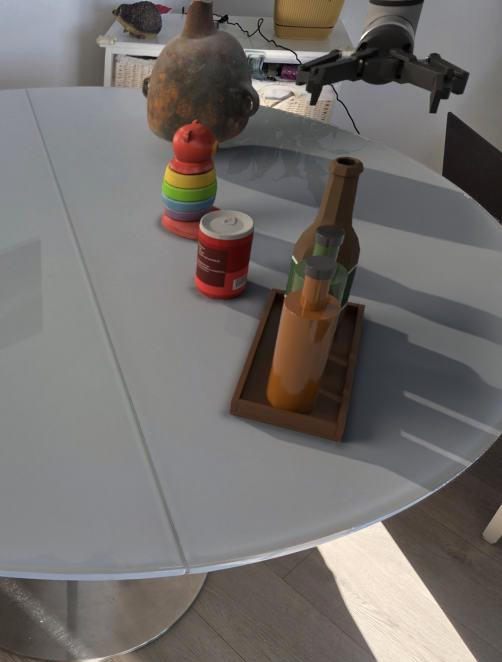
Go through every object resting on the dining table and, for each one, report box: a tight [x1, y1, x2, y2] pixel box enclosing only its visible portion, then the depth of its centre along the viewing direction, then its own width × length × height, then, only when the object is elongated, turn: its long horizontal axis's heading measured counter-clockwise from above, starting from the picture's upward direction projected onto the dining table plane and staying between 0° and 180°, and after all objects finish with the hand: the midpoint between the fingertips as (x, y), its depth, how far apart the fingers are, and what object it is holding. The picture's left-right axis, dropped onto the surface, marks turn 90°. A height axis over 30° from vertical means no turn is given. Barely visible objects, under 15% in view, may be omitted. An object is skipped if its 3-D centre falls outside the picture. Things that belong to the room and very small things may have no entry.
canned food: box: [194, 209, 255, 300], centre depth 95 cm, size 8×8×11 cm
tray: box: [228, 287, 366, 443], centre depth 83 cm, size 13×26×2 cm, turn 154°
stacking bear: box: [161, 120, 222, 241], centre depth 109 cm, size 11×10×18 cm
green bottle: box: [290, 225, 348, 305], centre depth 77 cm, size 6×6×19 cm
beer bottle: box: [281, 156, 364, 333], centre depth 81 cm, size 8×8×24 cm
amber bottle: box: [266, 255, 341, 414], centre depth 72 cm, size 6×6×19 cm
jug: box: [141, 0, 261, 144], centre depth 131 cm, size 24×21×30 cm
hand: (373, 98), depth 78 cm, fingers open, 13 cm apart
